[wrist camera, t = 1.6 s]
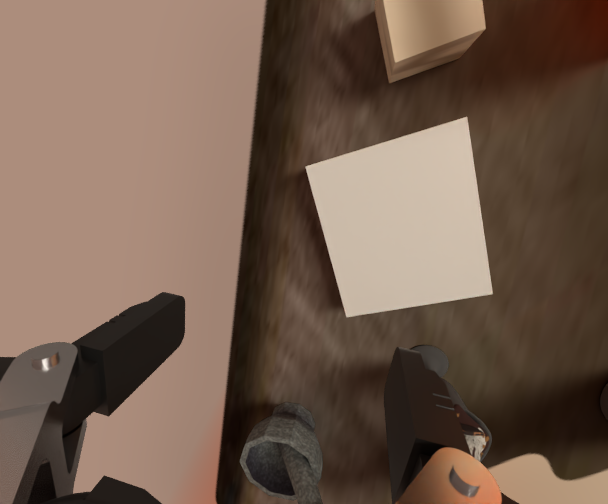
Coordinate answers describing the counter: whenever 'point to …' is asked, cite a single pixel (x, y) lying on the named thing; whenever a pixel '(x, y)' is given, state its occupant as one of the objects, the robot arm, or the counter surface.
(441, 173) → the cream board
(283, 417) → the mortar and pestle
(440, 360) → the sundae
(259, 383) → the counter surface
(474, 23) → the birch block
